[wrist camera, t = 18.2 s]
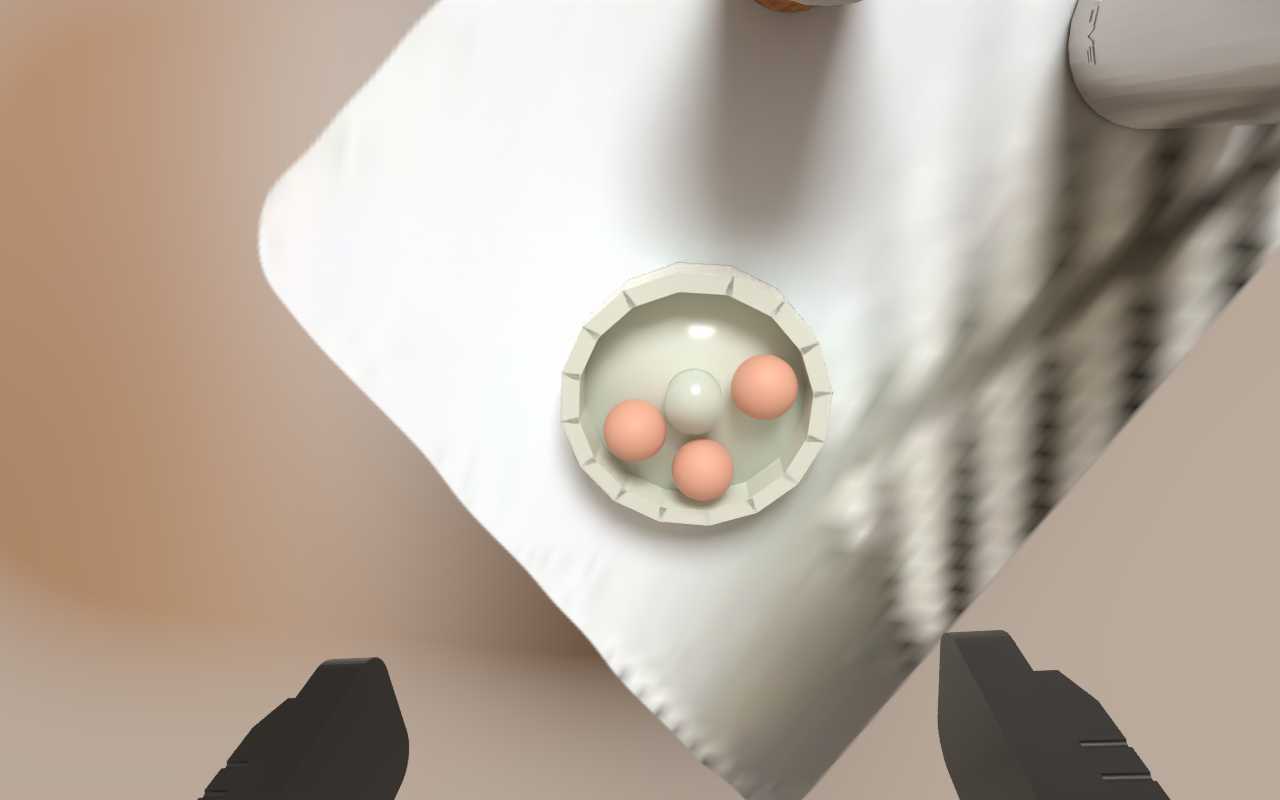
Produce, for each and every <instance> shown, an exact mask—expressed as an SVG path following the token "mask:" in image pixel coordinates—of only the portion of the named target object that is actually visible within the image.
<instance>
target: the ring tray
mask: <svg viewBox="0 0 1280 800" xmlns="http://www.w3.org/2000/svg"><path fill="white" fill-rule="evenodd" d="M762 354H767V355H773V356H776V357H779V358H780V359H782V360H784V361H785V362H786V363H788V364H789V365H790V367H791V368H792V369H793V371H794V373H795V375H796V378H797V383H798V391H797V396H796V399H795V401H794V403H793V405H792V406H791V408H790V409H789V410H788V411H787V412H786V413H784V414H783V415H781V416H779V417H777V418H774V419H770V420H759V419H755V418H752V417H749V416H748V415H746V414H745V413H743V412H742V411H741V410H740V409H739V408H738V406H737V405H736V403H735V402H734V399H733V397H732V392H731V383H732V378H733V375H734V373H735V371H736V370H737V368H738V367H739V366H740V364H742V363H743V362H744V361H745V360H747V359H749V358H750V357H753V356H756V355H762ZM832 395H833V391H832V388H831V384H830V381H829V377H828V373H827V370H826V366H825V362H824V359H823V355H822V351H821V348H820V344H819V342H818V340H817V338H816V337H815V335H814V334H813V332H812V331H811V329H810V328H809V327H808V325H807V324H806V323H805V322H804V321H803V319H802V318H801V317H800V316H799V315H798V314H797V312H796V311H795V310H794V309H793V308H792V306H791V305H790V304H789V303H788V302H787V300H786V299H785V298H784V297H783V296H782V294H781V293H780V292H779V291H778V289H776V288H774V287H772V286H770V285H768V284H766V283H764V282H762V281H760V280H758V279H756V278H754V277H752V276H750V275H748V274H746V273H744V272H742V271H740V270H738V269H736V268H734V267H732V266H722V265H706V264H691V263H676V264H673V265H670V266H667V267H664V268H661V269H658V270H655V271H652V272H650V273H647V274H644V275H641V276H638V277H635V278H632V279H629V280H628V281H627V282H626V283H625V284H623V285H622V286H621V287H620V288H619V289H618V290H617V291H616V292H615V293H613V294H612V295H611V296H610V297H609V298H608V299H607V300H606V301H605V302H603V303H602V304H601V305H600V306H599V307H598V308H597V309H596V310H595V311H593V312H592V313H591V315H590V316H589V318H588V319H587V321H586V323H585V324H584V326H583V328H582V330H581V332H580V334H579V337H578V339H577V341H576V343H575V345H574V348H573V350H572V352H571V354H570V356H569V359H568V361H567V363H566V365H565V367H564V370H563V372H562V418H561V423H562V425H563V427H564V429H565V432H566V434H567V437H568V439H569V441H570V444H571V446H572V448H573V451H574V453H575V456H576V458H577V460H578V463H579V465H580V467H581V468H582V469H583V470H584V471H585V472H586V473H587V474H588V475H589V476H590V477H591V478H592V479H593V480H594V481H595V482H596V483H597V484H598V485H599V486H600V487H601V488H602V489H603V490H604V491H605V492H606V493H607V494H608V495H609V496H610V497H611V498H612V499H613V500H614V501H615V502H617V503H620V504H622V505H624V506H626V507H628V508H631V509H633V510H635V511H637V512H639V513H641V514H644V515H646V516H648V517H650V518H652V519H655V520H657V521H659V522H670V523H682V524H694V525H705V526H710V525H714V524H717V523H721V522H725V521H729V520H733V519H736V518H740V517H744V516H748V515H751V514H755V513H758V512H759V511H761V510H762V509H763V508H765V507H766V506H768V505H769V504H771V503H772V502H773V501H775V500H776V499H778V498H779V497H780V496H782V495H783V494H785V493H786V492H788V491H789V490H790V489H792V488H793V487H795V486H796V485H798V483H799V482H800V480H801V478H802V477H803V475H804V474H805V472H806V471H807V469H808V468H809V466H810V465H811V463H812V461H813V460H814V458H815V457H816V455H817V454H818V452H819V451H820V449H821V448H822V446H823V444H824V443H825V438H826V432H827V426H828V420H829V413H830V407H831V401H832ZM629 399H640V400H644V401H647V402H649V403H651V404H653V405H654V406H655V407H656V408H657V409H658V410H659V411H660V412H661V414H662V416H663V418H664V420H665V424H666V437H665V441H664V443H663V445H662V447H661V449H660V450H659V451H658V452H657V453H656V454H655V455H654V456H652V457H651V458H649V459H647V460H644V461H640V462H629V461H625V460H623V459H620V458H619V457H617V456H616V455H615V454H613V453H612V452H611V450H610V449H609V448H608V446H607V444H606V442H605V439H604V433H603V428H604V422H605V419H606V417H607V415H608V413H609V412H610V411H611V409H612V408H613V407H615V406H616V405H617V404H619V403H620V402H623V401H625V400H629ZM700 438H705V439H711V440H714V441H716V442H718V443H720V444H721V445H722V446H724V447H725V448H726V450H727V451H728V452H729V454H730V456H731V458H732V460H733V465H734V475H733V479H732V482H731V484H730V486H729V488H728V489H727V490H726V491H725V492H724V493H723V494H722V495H720V496H719V497H717V498H715V499H712V500H707V501H699V500H695V499H692V498H689V497H687V496H686V495H684V494H683V493H682V492H681V491H680V490H679V489H678V487H677V486H676V484H675V482H674V480H673V476H672V462H673V459H674V456H675V454H676V453H677V451H678V450H679V449H680V448H681V447H682V446H683V445H684V444H685V443H687V442H689V441H691V440H694V439H700Z"/></svg>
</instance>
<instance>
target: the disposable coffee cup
mask: <svg viewBox="0 0 1280 800" xmlns="http://www.w3.org/2000/svg"><path fill="white" fill-rule="evenodd" d="M755 1H756V2H758V3H759V4H761V5H763V6H765V7H767V8H769V9H773V10H777V11H781V12H798V11H803V10H807V9H810V8H812V7H815V6H817V5H822V6H833V5H841V4H849V3H856V2H859V1H862V0H755Z"/></svg>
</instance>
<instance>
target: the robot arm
mask: <svg viewBox="0 0 1280 800" xmlns="http://www.w3.org/2000/svg"><path fill="white" fill-rule="evenodd" d="M1068 46H1069V65H1070V68H1071V72H1072V75H1073V79H1074V83H1075V85H1076V87H1077V89H1078V90H1079V92H1080V94H1081V96H1082V97H1083V99H1084V101H1085V102H1086V103H1087V104H1088V105H1089V106H1090V107H1091V108H1092V109H1093V110H1094V111H1095V112H1096V113H1097V114H1098V115H1100V116H1102V117H1104V118H1105V119H1107V120H1109V121H1111V122H1112V123H1114V124H1118V125H1121V126H1125V127H1129V128H1132V129H1170V128H1191V127H1220V126H1240V125H1260V124H1280V0H1079V1H1078V4H1077V7H1076V9H1075V12H1074V15H1073V18H1072V22H1071V29H1070V36H1069V42H1068ZM938 730H939V737H940V743H941V747H942V752H943V756H944V760H945V763H946V766H947V769H948V772H949V774H950V777H951V779H952V782H953V784H954V787H955V789H956V791H957V794H958V796H959V799H960V800H1170V799H1169V797H1168V796H1167V795H1166V793H1165V792H1164V790H1163V789H1162V788H1161V786H1160V785H1159V784H1158V782H1157V781H1153V780H1152V778H1151V775H1150V771H1149V770H1148V768H1147V767H1146V766H1145V764H1144V763H1143V762H1142V760H1141V759H1140V757H1139V756H1138V755H1137V753H1136V752H1135V751H1134V749H1133V748H1132V747H1128V745H1127V743H1126V738H1125V737H1124V736H1123V734H1122V733H1121V732H1120V730H1119V729H1118V727H1117V726H1116V725H1115V723H1114V722H1113V721H1112V719H1111V718H1110V716H1109V715H1108V714H1107V713H1106V711H1105V710H1104V708H1103V707H1102V706H1101V704H1100V703H1099V701H1097V700H1096V699H1095V698H1094V697H1092V696H1091V695H1090V694H1088V693H1087V692H1086V691H1084V690H1083V689H1082V688H1080V687H1079V686H1078V685H1076V684H1075V683H1074V682H1073V681H1071V680H1070V679H1069V678H1067V677H1066V676H1065V675H1063V674H1062V673H1061V672H1059V671H1058V670H1050V671H1049V670H1048V671H1033V670H1032V668H1031V667H1030V665H1029V664H1028V662H1027V660H1026V659H1025V657H1024V656H1023V654H1022V653H1021V651H1020V650H1019V648H1018V647H1017V645H1016V643H1015V642H1014V640H1013V639H1012V638H1011V636H1010V635H1009V634H1008V633H1007V632H1005V631H1003V630H993V631H973V632H950V633H944V634H943V636H942V638H941V645H940V670H939V697H938ZM408 757H409V739H408V734H407V730H406V727H405V724H404V721H403V718H402V715H401V711H400V709H399V706H398V702H397V699H396V696H395V693H394V690H393V686H392V683H391V680H390V677H389V674H388V671H387V668H386V665H385V664H384V662H383V661H382V660H381V659H379V658H375V657H373V658H352V659H330V660H327V661H325V662H323V663H322V664H321V665H320V666H319V667H318V668H317V669H316V671H315V672H314V674H313V675H312V676H311V677H310V679H309V680H308V681H307V683H306V684H305V686H304V687H303V688H302V690H301V691H300V692H299V694H298V695H297V697H296V698H288V699H287V700H285V701H284V702H283V703H282V704H281V705H279V706H278V707H277V708H276V709H275V710H273V711H272V712H271V713H270V714H268V715H267V716H266V717H265V718H264V719H262V720H261V721H260V722H259V723H258V724H256V725H255V726H254V727H253V728H252V729H251V731H250V732H249V733H248V735H247V736H246V737H245V738H244V740H243V741H242V742H241V744H240V745H239V746H238V748H237V749H236V750H235V751H234V753H233V754H232V755H231V757H230V758H229V759H228V761H227V766H226V768H223V769H221V770H220V771H219V772H218V774H217V775H216V776H215V777H214V779H213V780H212V781H211V783H210V784H209V785H208V787H207V788H206V789H205V794H204V797H203V798H198V800H394V799H395V797H396V795H397V792H398V790H399V788H400V786H401V784H402V781H403V779H404V776H405V773H406V769H407V764H408Z"/></svg>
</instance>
